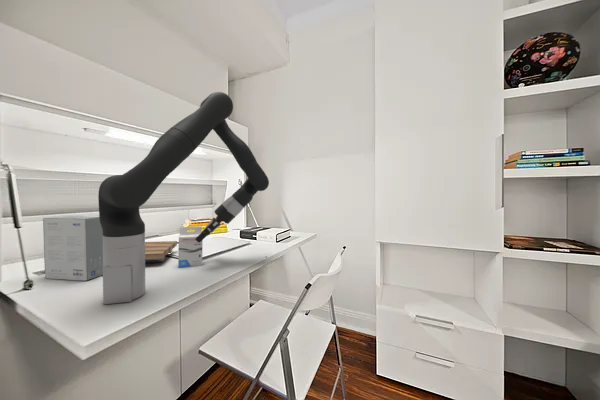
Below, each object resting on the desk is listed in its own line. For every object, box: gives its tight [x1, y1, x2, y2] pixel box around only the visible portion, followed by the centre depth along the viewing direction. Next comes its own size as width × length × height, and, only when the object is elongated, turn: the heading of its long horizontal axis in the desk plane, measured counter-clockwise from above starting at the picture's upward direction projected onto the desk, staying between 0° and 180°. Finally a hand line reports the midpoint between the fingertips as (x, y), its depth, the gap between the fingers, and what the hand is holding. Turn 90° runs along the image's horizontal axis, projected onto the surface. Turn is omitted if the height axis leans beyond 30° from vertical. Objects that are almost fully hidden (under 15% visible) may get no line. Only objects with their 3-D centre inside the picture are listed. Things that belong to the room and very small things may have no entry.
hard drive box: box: [42, 215, 103, 282], centre depth 77 cm, size 16×8×20 cm, turn 84°
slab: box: [145, 240, 178, 259], centre depth 97 cm, size 22×14×2 cm, turn 15°
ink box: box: [177, 226, 203, 268], centre depth 91 cm, size 8×5×15 cm, turn 115°
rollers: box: [145, 249, 173, 264], centre depth 97 cm, size 13×12×3 cm
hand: (199, 238), depth 92 cm, fingers open, 8 cm apart
